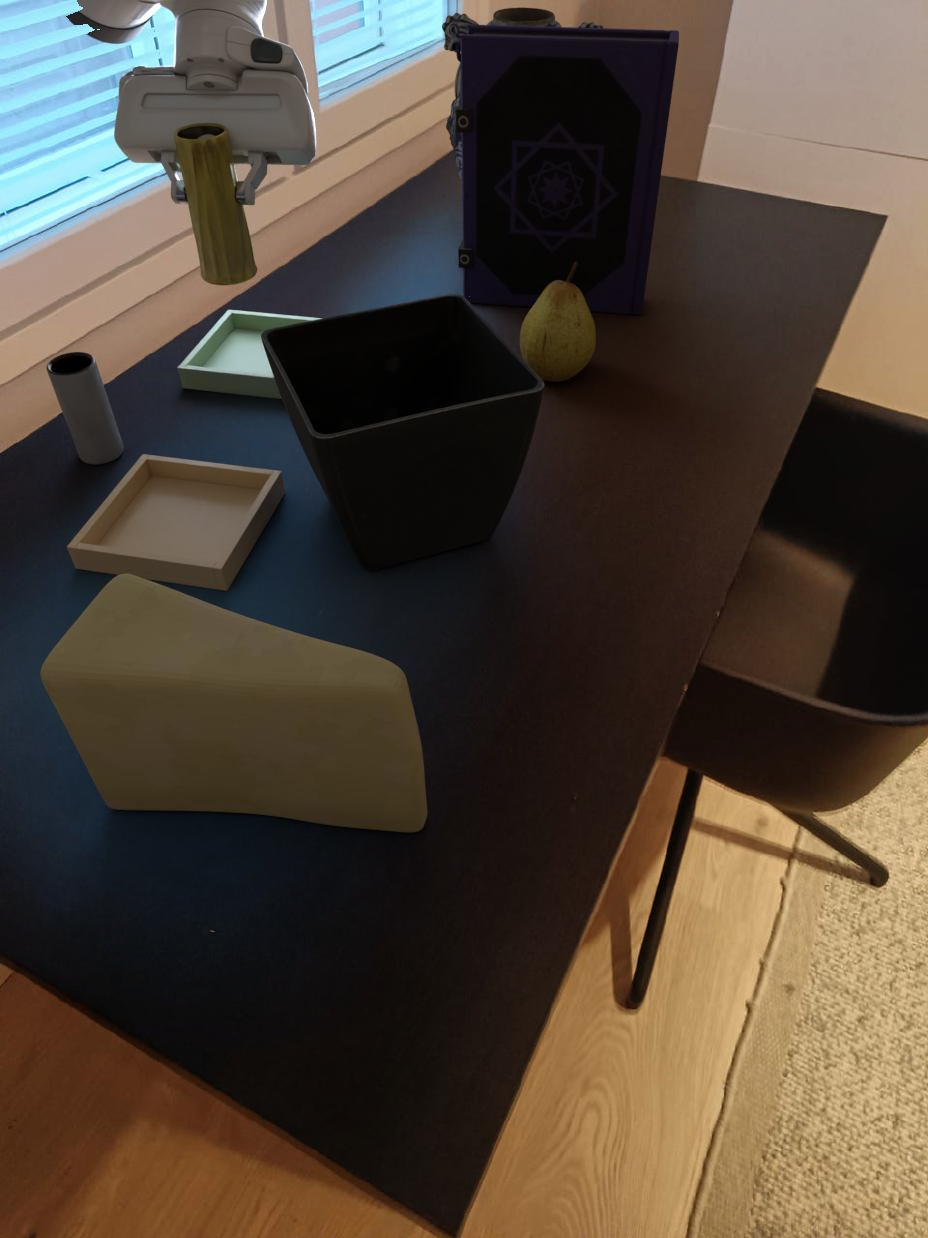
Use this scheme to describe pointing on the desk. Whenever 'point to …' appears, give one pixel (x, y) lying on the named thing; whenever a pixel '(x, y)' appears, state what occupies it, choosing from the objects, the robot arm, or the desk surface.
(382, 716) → the cheese
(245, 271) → the vase
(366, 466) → the flower pot
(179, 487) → the tray
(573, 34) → the book
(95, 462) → the grey tapered cylinder
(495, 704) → the desk surface
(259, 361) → the vase tray
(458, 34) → the decorative vase
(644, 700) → the desk surface
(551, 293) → the fruit
